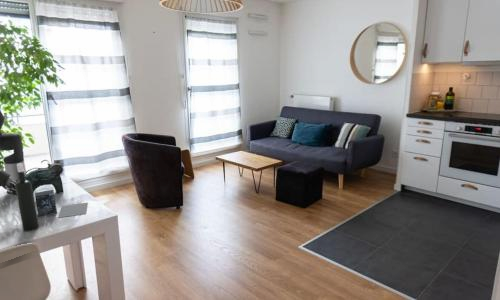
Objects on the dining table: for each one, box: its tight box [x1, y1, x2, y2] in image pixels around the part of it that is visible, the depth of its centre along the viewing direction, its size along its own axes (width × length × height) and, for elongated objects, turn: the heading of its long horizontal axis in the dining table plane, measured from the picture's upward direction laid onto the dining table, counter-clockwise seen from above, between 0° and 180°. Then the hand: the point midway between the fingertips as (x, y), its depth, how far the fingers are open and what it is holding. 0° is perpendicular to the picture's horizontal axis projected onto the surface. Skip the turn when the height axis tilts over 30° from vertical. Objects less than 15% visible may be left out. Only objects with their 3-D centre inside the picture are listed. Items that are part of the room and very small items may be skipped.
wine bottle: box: [15, 163, 40, 232], centre depth 143 cm, size 6×6×30 cm
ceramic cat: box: [25, 159, 64, 196], centre depth 180 cm, size 20×6×20 cm, turn 136°
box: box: [34, 189, 58, 217], centre depth 160 cm, size 8×6×11 cm
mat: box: [57, 202, 89, 219], centre depth 165 cm, size 14×12×1 cm
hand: (30, 197), depth 157 cm, fingers closed
